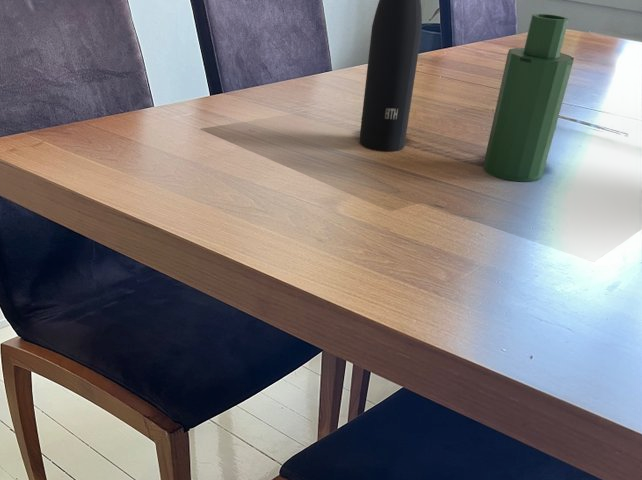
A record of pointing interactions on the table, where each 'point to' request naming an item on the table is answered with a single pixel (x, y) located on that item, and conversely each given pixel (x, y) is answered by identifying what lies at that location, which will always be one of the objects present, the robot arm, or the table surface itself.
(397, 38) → the black tall cylinder
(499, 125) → the green bottle
